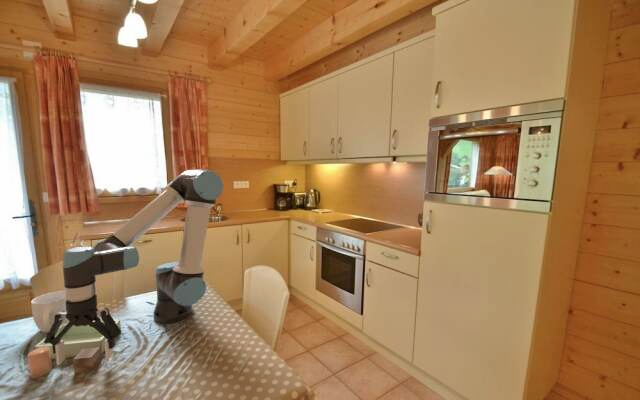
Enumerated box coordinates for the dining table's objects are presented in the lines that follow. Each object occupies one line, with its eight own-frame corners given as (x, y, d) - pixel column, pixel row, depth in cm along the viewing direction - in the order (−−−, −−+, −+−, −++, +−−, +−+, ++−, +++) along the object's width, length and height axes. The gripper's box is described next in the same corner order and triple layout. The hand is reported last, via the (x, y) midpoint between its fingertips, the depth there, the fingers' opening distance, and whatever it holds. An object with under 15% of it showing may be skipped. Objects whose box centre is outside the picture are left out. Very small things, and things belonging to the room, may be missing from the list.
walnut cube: (101, 360, 94) (100, 347, 94) (92, 371, 90) (91, 357, 89) (84, 362, 93) (82, 349, 93) (74, 373, 89) (73, 359, 88)
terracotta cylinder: (56, 365, 92) (54, 345, 91) (44, 376, 87) (42, 356, 86) (38, 367, 91) (35, 347, 90) (25, 379, 86) (22, 358, 85)
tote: (121, 331, 111) (120, 319, 110) (101, 354, 98) (100, 340, 97) (63, 336, 107) (62, 324, 106) (35, 360, 94) (33, 347, 93)
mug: (67, 335, 108) (64, 303, 106) (27, 345, 102) (23, 311, 100) (74, 317, 120) (71, 288, 119) (38, 325, 114) (35, 295, 113)
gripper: (130, 289, 95) (133, 348, 97) (43, 293, 90) (49, 355, 92) (119, 299, 87) (123, 363, 90) (24, 304, 82) (30, 372, 85)
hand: (85, 359), depth 91 cm, fingers open, 13 cm apart
